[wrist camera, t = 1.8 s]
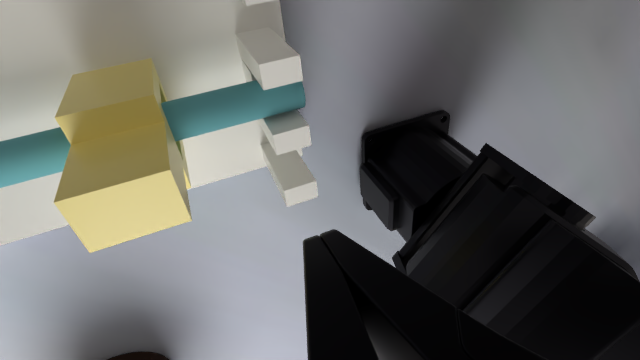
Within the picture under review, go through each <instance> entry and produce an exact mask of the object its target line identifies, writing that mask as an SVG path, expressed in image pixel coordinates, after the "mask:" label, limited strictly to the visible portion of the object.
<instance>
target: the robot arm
mask: <svg viewBox="0 0 640 360" xmlns="http://www.w3.org/2000/svg"><path fill="white" fill-rule="evenodd" d="M442 117H443V118H442ZM441 118H442V119H441ZM449 122H450V115H449V113H447V112H446V111H444V110H441V111H437V112H434V113H430V114H427V115H424V116H420V117H417V118H414V119H410V120H407V121H403V122H400V123H397V124H393V125H390V126H386V127H383V128H380V129H376V130H373V131H370V132H367V133H365V134H364V135H363V137H362V140H361V141H362V164H361V166H360V188H361V195H362V197H363V204H364V206H365V207H366V209H367V210H373V211H374V212H375V213H376V215H377V216H378V217H379V219H380V220H381V221H382V222H383V224H384V225H385V226H386V228H387V229H389V230H390V231H393V230H397V231H398V232H399V233H400V235H401V236H402V237H403V238H404V240H405V241H406V244H405V245H404V246H403V247H402V248H401V250H400V251H397V252H396V253H395V255H394V256H393V257H392V259H393V262H394V264H395V267H396V268H395V267H393V266H392V265H390V264H389V263H387V262H386V261H384V260H383V259H381V258H379V257H378V256H376V255H375V254H373V253H372V252H370V251H369V250H367V249H365V248H364V247H362V246H361V245H359V244H358V243H356V242H355V241H353V240H351V239H350V238H348V237H347V236H345V235H344V234H342V233H341V232H339V231H337V230H334V229H333V230H330V231H327V232H324V233H322V234H320V236H318V235H316V236H313V237H310V238H307V239H305V240H304V241H303V257H304V281H305V304H306V328H307V352H308V360H640V282H639V280H638V278H637V275H636V273H635V271H634V270H633V268H632V267H631V266H630V265H629V264H628V263H627V262H626V261H625V260H624V259H623V258H621V257H620V256H619V255H618V254H617V253H616V252H615V251H614V250H613V249H612V248H611V247H609V246H608V245H607V244H606V243H605V242H604V241H602V240H601V239H599V238H598V237H596V236H595V235H594V234H592V233H591V232H589V231H588V230H586V229H585V227H586V226H588V225H589V224H590V223H591V222H592V221H593V220H594V219H595V218H596V217H595V216H593V215H592V214H590V213H589V212H588V211H586V210H585V209H583V208H582V207H580V206H579V205H577V204H576V203H574V202H573V201H571V200H570V199H568V198H567V197H565V196H564V195H562V194H561V193H559V192H558V191H556V190H555V189H553V188H552V187H550V186H549V185H548V184H546V183H545V182H543V181H542V180H540V179H539V178H537V177H536V176H534V175H533V174H531V173H530V172H528V171H527V170H525V169H524V168H522V167H521V166H519V165H518V164H516V163H515V162H513V161H512V160H510V159H509V158H507V157H506V156H504V155H503V154H502V153H500V152H499V151H497V150H496V149H494V148H493V147H491V146H490V145H488V144H487V143H486V144H485V145H484V146H483V147H482V149H481V150H480V152H481V153H480V154H479V155H478V156H476V155H475V154H474V153H472V152H471V151H470V150H468V149H467V148H465V147H464V146H463V145H461V144H460V143H459V142H457V141H456V140H455V139H453V138H452V137H450V136H449V135H448V129H449ZM370 138H372V139H371V141H369V142H368V140H369V139H370Z"/></svg>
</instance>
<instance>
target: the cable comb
mask: <svg viewBox="0 0 640 360" xmlns="http://www.w3.org/2000/svg"><path fill="white" fill-rule="evenodd" d="M150 58H152V61H153V64H154V66H155V69H156V72H157V74H158V77H159V80H160V82H161V85H162V87H163V90H164V93H165V95H166V98H167V101H171V100H175V99H179V98H183V97H188V96H192V95H196V94H200V93H204V92H208V91H213V90H217V89H221V88H225V87H229V86H233V85H238V84H242V83H246V82H250V81H254V80H257V81H258V83H259V84H260V86H261V87H262V89H263V90H267V89H271V88H275V87H279V86H283V85H287V84H292V83H296V82H300V81H303V75H302V68H301V60H300V55H299V54H298V53H297V52H296V51H295V50H294V49H292V48H291V47H290V46H289V45H288V44H287V43H286V41H285V34H284V27H283V21H282V14H281V7H280V1H279V0H0V141H4V140H8V139H13V138H17V137H21V136H25V135H29V134H33V133H38V132H42V131H46V130H50V129H54V128H58V127H60V126H59V124H58V123H57V121H56V119H55V116H56V113H57V111H58V108H59V106H60V104H61V101H62V99H63V96H64V94H65V92H66V89H67V87H68V84H69V82H70V80H71V77H72V75H74V74H79V73H83V72H88V71H93V70H98V69H102V68H107V67H112V66H117V65H121V64H126V63H131V62H135V61H140V60H145V59H150ZM183 145H184V151H185V156H186V162H187V167H188V173H189V178H190V184H191V188H189V189H192V188H195V187H199V186H202V185H205V184H209V183H212V182H215V181H219V180H222V179H225V178H229V177H232V176H236V175H239V174H242V173H246V172H249V171H252V170H256V169H259V168H262V167H266V166H267V167H268V169H269V171H270V173H271V175H272V177H273V179H274V181H275V183H276V185H277V187H278V189H279V191H280V193H281V195H282V197H283V199H284V201H285V203H286V206H287V207H289V206H292V205H295V204H298V203H301V202H304V201H307V200H310V199H313V198H316V197H318V191H317V184H316V180H315V178H314V177H313V175H312V174H311V172H310V171H309V169H308V167H307V166H306V164H305V163H304V161H303V160H302V158H301V157H300V156H303V154H302V148H304V147H307V146H311V137H310V130H309V125H308V124H307V122H306V121H305V120H304V118H303V117H302V116H301V115H300V113H299V112H298V111H297V109H296V110H292V111H288V112H284V113H281V114H277V115H273V116H269V117H265V118H262V119H258V120H254V121H250V122H247V123H243V124H239V125H235V126H232V127H228V128H224V129H220V130H217V131H213V132H209V133H205V134H202V135H198V136H194V137H190V138H187V139H183ZM62 173H63V172H59V173H55V174H51V175H47V176H44V177H40V178H36V179H32V180H29V181H25V182H21V183H17V184H14V185H10V186H6V187H2V188H0V246H1V245H4V244H7V243H11V242H14V241H17V240H21V239H24V238H28V237H31V236H34V235H38V234H41V233H44V232H48V231H51V230H54V229H58V228H61V227H64V226H68V225H69V223H68V222H67V221H66V219H65V218H64V216H63V215H62V214H61V212H60V211H59V210H58V208H57V207H56V205H55V204H54V200H55V196H56V193H57V190H58V186H59V183H60V180H61V176H62ZM189 189H187V190H189Z"/></svg>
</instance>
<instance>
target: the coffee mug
mask: <svg viewBox="0 0 640 360" xmlns="http://www.w3.org/2000/svg"><path fill="white" fill-rule="evenodd" d="M108 360H169V359H168V358H167V357H165V356H163V355H160V354H158V353H152V352H133V353H127V354H122V355H119V356H116V357H112V358H110V359H108Z"/></svg>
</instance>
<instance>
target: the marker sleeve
mask: <svg viewBox="0 0 640 360" xmlns="http://www.w3.org/2000/svg"><path fill="white" fill-rule="evenodd" d="M163 102H167V98H166V95H165V93H164V90H163V87H162V85H161V82H160V80H159V77H158V74H157V72H156V69H155V66H154V64H153V61H152V58H150V59H145V60H140V61H135V62H131V63H126V64H121V65H117V66H112V67H107V68H102V69H98V70H93V71H88V72H83V73H79V74H74V75H72V77H71V80H70V82H69V84H68V87H67V89H66V92H65V94H64V96H63V99H62V101H61V104H60V106H59V108H58V111H57V113H56V116H55V119H56V121H57V123H58V124H59V126H60V128H61V129H62V131H63V132H64V134H65V136H66V137H67V139H68V141H69V142H70V144H71V146H70V149H69V153H68V156H67V159H66V163H65V166H64V169H63V173H62V176H61V180H60V183H59V186H58V190H57V193H56V196H55V200H54V204H55V205H56V207H57V208H58V210H59V211H60V212H61V214H62V215H63V216H64V218H65V219H66V221H67V222H68V223H69V225H70V226H71V228H72V229H73V230H74V232H75V233H76V235H77V236H78V237H79V239H80V240H81V242H82V243H83V244H84V246H85V247H86V249H87V250H88V251H89V253H92V252H95V251H98V250H101V249H104V248H107V247H110V246H114V245H117V244H120V243H123V242H126V241H129V240H132V239H136V238H139V237H142V236H145V235H148V234H151V233H154V232H158V231H161V230H164V229H167V228H170V227H173V226H176V225H180V224H183V223H186V222H189V221H192V218H191V212H190V206H189V200H188V194H187V189H189V188H191V184H190V178H189V173H188V167H187V162H186V156H185V151H184V145H183V140H179V141H175V139H174V137H173V134H172V132H171V129H170V127H169V124H168V122H167V119H166V117H165V114H164V112H163V109H162V106H161V103H163Z"/></svg>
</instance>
